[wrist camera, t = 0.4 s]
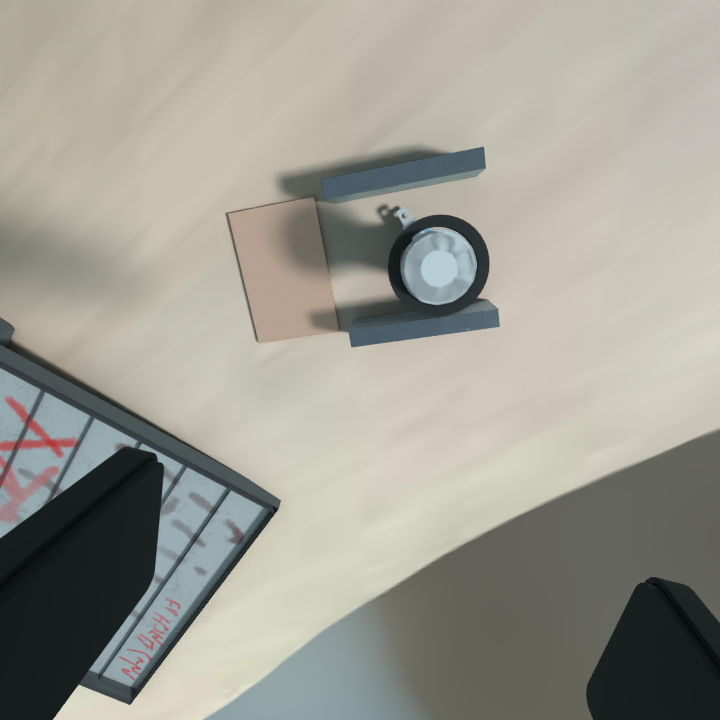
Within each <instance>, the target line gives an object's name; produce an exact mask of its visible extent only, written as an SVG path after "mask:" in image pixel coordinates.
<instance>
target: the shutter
mask: <svg viewBox="0 0 720 720" xmlns="http://www.w3.org/2000/svg"><path fill="white" fill-rule="evenodd" d="M14 330H15V329H14V328H13V326H12V325H11V324H10V323H8V322H6V321H5V320H3V319H2V318H0V538H1V537H2V536H4V535H5V534H7V533H8V532H9V531H11V530H12V529H13V528H15V527H16V526H17V525H19V524H20V523H21V522H23V521H24V520H25V519H27V518H28V517H29V516H31V515H32V514H33V513H35V512H36V511H38V510H39V509H40V508H42V507H43V506H44V505H46V504H47V503H48V502H50V501H51V500H52V499H54V498H55V497H56V496H58V495H59V494H60V493H62V492H63V491H65V490H66V489H67V488H69V487H70V486H71V485H73V484H74V483H75V482H77V481H78V480H79V479H81V478H82V477H83V476H85V475H86V474H87V473H89V472H90V471H92V470H93V469H94V468H96V467H97V466H98V465H100V464H101V463H102V462H104V461H105V460H106V459H108V458H109V457H110V456H112V455H113V454H114V453H116V452H117V451H118V450H120V449H121V448H123V447H127V446H129V447H133V448H137V449H141V450H145V451H149V452H153V453H155V454H156V455H157V458H158V462H161V463H163V465H164V478H163V489H162V500H161V506H162V505H163V506H162V507H161V511H160V522H159V533H158V544H157V555H156V565H155V573H154V577H153V580H152V582H151V585H150V587H149V589H148V590H147V592H146V593H145V595H144V596H143V597H142V599H141V600H140V601H139V603H138V604H137V605H136V607H135V608H134V610H133V611H132V612H131V614H130V615H129V616H128V618H127V619H126V620H125V622H124V623H123V625H122V626H121V627H120V629H119V630H118V631H117V633H116V634H115V635H114V637H113V638H112V640H111V641H110V642H109V644H108V645H107V646H106V648H105V649H104V650H103V652H102V653H101V655H100V656H99V657H98V659H97V660H96V661H95V663H94V664H93V666H92V667H91V668H90V670H89V671H88V672H87V674H86V675H85V676H84V678H83V679H82V681H81V682H80V683H79V685H81V686H84V687H86V688H89V689H91V690H94V691H96V692H99V693H101V694H104V695H106V696H109V697H111V698H114V699H116V700H119V701H121V702H124V703H126V704H129V705H130V704H131V703H132V702H133V701H134V699H135V698H136V697H137V695H138V694H139V693H140V691H141V690H142V689H143V687H144V686H145V685H146V683H147V682H148V681H149V679H150V678H151V677H152V675H153V674H154V673H155V671H156V670H157V669H158V668H159V666H160V665H161V664H162V662H163V661H164V660H165V658H166V657H167V656H168V654H169V653H170V652H171V650H172V649H173V648H174V646H175V645H176V644H177V642H178V641H179V640H180V638H181V637H182V636H183V634H184V633H185V632H186V631H187V629H188V628H189V627H190V625H191V624H192V623H193V621H194V620H195V619H196V617H197V616H198V615H199V613H200V612H201V611H202V609H203V608H204V607H205V605H206V604H207V603H208V601H209V600H210V599H211V598H212V596H213V595H214V594H215V592H216V591H217V590H218V588H219V587H220V586H221V584H222V583H223V582H224V580H225V579H226V578H227V576H228V575H229V574H230V572H231V571H232V570H233V568H234V567H235V566H236V564H237V563H238V562H239V561H240V559H241V558H242V557H243V555H244V554H245V553H246V551H247V550H248V549H249V547H250V546H251V545H252V543H253V542H254V541H255V539H256V538H257V537H258V535H259V534H260V533H261V531H262V530H263V529H264V528H265V526H266V525H267V524H268V522H269V521H270V520H271V518H272V517H273V516H274V514H275V513H276V512H277V510H278V509H279V505H280V502H281V500H279V499H278V498H276V497H275V496H273V495H272V494H270V493H269V492H267V491H266V490H264V489H263V488H261V487H260V486H258V485H256V484H255V483H253V482H252V481H250V480H249V479H247V478H246V477H244V476H242V475H240V474H239V473H237V472H235V471H233V470H231V469H229V468H227V467H226V466H224V465H222V464H220V463H218V462H216V461H214V460H213V459H211V458H209V457H207V456H205V455H203V454H201V453H200V452H198V451H196V450H194V449H192V448H190V447H189V446H187V445H185V444H183V443H181V442H179V441H177V440H176V439H174V438H172V437H170V436H168V435H166V434H164V433H163V432H161V431H159V430H157V429H155V428H153V427H152V426H150V425H148V424H146V423H144V422H142V421H140V420H139V419H137V418H135V417H133V416H131V415H129V414H127V413H126V412H124V411H122V410H120V409H118V408H116V407H114V406H113V405H111V404H109V403H107V402H105V401H103V400H102V399H100V398H98V397H96V396H94V395H92V394H90V393H89V392H87V391H85V390H83V389H81V388H79V387H77V386H76V385H74V384H72V383H70V382H68V381H66V380H64V379H63V378H61V377H59V376H57V375H55V374H53V373H52V372H50V371H48V370H46V369H44V368H42V367H40V366H39V365H37V364H35V363H33V362H31V361H29V360H27V359H26V358H24V357H22V356H20V355H18V354H16V353H14V352H13V351H11V350H9V349H7V346H8V344H9V342H10V339H11V337H12V334H13V332H14ZM186 467H187V468H186ZM185 469H186V470H185ZM184 470H185V471H184ZM183 472H184V473H183ZM182 473H183V474H182ZM181 475H182V476H181ZM180 476H181V477H180ZM179 478H180V479H179ZM177 481H178V482H177ZM176 483H177V484H176ZM175 484H176V485H175ZM174 486H175V487H174ZM173 487H174V488H173ZM172 489H173V490H172ZM170 492H171V493H170ZM169 494H170V495H169ZM168 495H169V496H168ZM167 497H168V498H167ZM166 498H167V499H166ZM165 500H166V501H165ZM163 503H164V504H163ZM275 507H276V508H275ZM268 511H269V513H268V514H267V515H266V513H267V512H268ZM265 515H266V517H265V518H264V519H263V517H264V516H265ZM262 519H263V521H262V522H261V523H260V521H261V520H262ZM259 523H260V525H259V526H258V527H257V525H258V524H259ZM256 527H257V529H256V530H255V531H254V529H255V528H256ZM253 531H254V533H253V534H252V535H251V533H252V532H253ZM250 535H251V537H250V538H249V539H248V537H249V536H250ZM247 539H248V541H247V542H246V543H245V541H246V540H247ZM244 543H245V545H244V546H243V547H242V545H243V544H244ZM241 547H242V549H241V550H240V551H239V549H240V548H241ZM238 551H239V553H238V554H237V555H236V553H237V552H238ZM235 555H236V557H235V558H234V559H233V557H234V556H235ZM232 559H233V561H232V562H231V563H230V561H231V560H232ZM229 563H230V565H229V566H228V567H227V565H228V564H229ZM226 567H227V569H226V570H225V571H224V569H225V568H226ZM223 571H224V573H223V574H222V575H221V573H222V572H223ZM220 575H221V577H220V578H219V579H218V577H219V576H220ZM217 579H218V581H217V582H216V583H215V581H216V580H217ZM214 583H215V585H214V586H213V587H212V585H213V584H214ZM211 587H212V589H211V590H210V591H209V589H210V588H211ZM208 591H209V593H208V594H207V595H206V597H205V598H204V599H203V601H202V602H201V603H200V605H199V606H198V607H197V609H196V610H195V611H194V613H193V614H192V615H191V617H190V618H189V619H188V621H187V622H186V623H185V625H184V626H183V627H182V629H181V630H180V631H179V633H178V634H177V635H176V637H175V638H174V639H173V641H172V642H171V643H170V645H169V646H168V647H167V649H166V650H165V651H164V653H163V654H162V655H161V657H160V658H159V659H158V661H157V662H156V663H155V665H154V666H153V667H152V669H151V670H150V671H149V673H148V674H147V675H146V677H145V678H144V679H143V681H142V682H141V683H140V685H139V686H138V687H137V689H135V688H136V686H137V685H138V684H139V682H140V681H141V680H142V678H143V677H144V676H145V674H146V673H147V672H148V670H149V669H150V668H151V666H152V665H153V664H154V662H155V661H156V660H157V658H158V657H159V656H160V654H161V653H162V652H163V650H164V649H165V648H166V646H167V645H168V644H169V642H170V641H171V640H172V638H173V637H174V636H175V634H176V633H177V632H178V630H179V629H180V628H181V626H182V625H183V624H184V622H185V621H186V620H187V618H188V617H189V616H190V614H191V613H192V612H193V610H194V609H195V608H196V606H197V605H198V604H199V602H200V601H201V600H202V598H203V597H204V596H205V594H206V593H207V592H208Z"/></svg>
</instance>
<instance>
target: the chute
mask: <svg viewBox="0 0 720 720" xmlns="http://www.w3.org/2000/svg"><path fill="white" fill-rule="evenodd" d="M485 168H486V166H485V154H484V147H480V148H475V149H470V150H465V151H460V152H455V153H450V154H445V155H440V156H436V157H431V158H426V159H421V160H416V161H411V162H406V163H401V164H396V165H391V166H386V167H381V168H376V169H371V170H366V171H361V172H356V173H351V174H347V175H342V176H337V177H332V178H327V179H322V180H321V182H322V188H323V193H324V199H325V200H327V201H330V202H332V203H341V202H346V201H351V200H356V199H361V198H366V197H372V196H377V195H382V194H387V193H392V192H398V191H403V190H408V189H413V188H418V187H424V186H429V185H434V184H439V183H444V182H450V181H455V180H460V179H465V178H470V177H476V176H477V175H478V174H480V173H481V172H482V171H483V170H484V169H485ZM494 327H500V325H499V314H498V308H496V307H495V306H494V305H493V304H492V303H491V302H490V301H489V300H483V301H476V302H472V303H471V304H470V305H469V306H467V307H466V308H464V309H463V310H461V311H459V312H457V313H454V314H451V315H447V316H440V317H434V316H427V315H423V314H419V313H417V312H415V311H409V312H402V313H396V314H389V315H382V316H375V317H369V318H362V319H355V321H354V323H353V324H352V326H351V327H350V329H349V330H348V331H349V337H350V342H351V347H358V346H365V345H372V344H379V343H386V342H394V341H401V340H408V339H415V338H422V337H430V336H437V335H444V334H451V333H458V332H466V331H473V330H480V329H487V328H494Z"/></svg>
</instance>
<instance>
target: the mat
mask: <svg viewBox="0 0 720 720" xmlns="http://www.w3.org/2000/svg"><path fill="white" fill-rule="evenodd" d="M228 216H229V220H230V224H231V229H232V233H233V237H234V241H235V245H236V249H237V254H238V258H239V262H240V266H241V270H242V275H243V279H244V283H245V287H246V291H247V296H248V300H249V304H250V308H251V312H252V317H253V321H254V325H255V329H256V333H257V338H258V342H259V343H264V342H271V341H278V340H285V339H292V338H299V337H305V336H312V335H319V334H326V333H333V332H339V331H340V330H339V325H338V320H337V314H336V309H335V304H334V298H333V293H332V288H331V282H330V277H329V271H328V266H327V261H326V255H325V250H324V245H323V239H322V234H321V229H320V223H319V218H318V212H317V207H316V202H315V197H310V198H305V199H300V200H295V201H289V202H284V203H279V204H274V205H269V206H264V207H259V208H254V209H249V210H244V211H239V212H233V213H228Z"/></svg>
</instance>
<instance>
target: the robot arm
mask: <svg viewBox="0 0 720 720" xmlns="http://www.w3.org/2000/svg"><path fill="white" fill-rule="evenodd" d="M163 478H164V465H163V463H161V462H158V458H157V455H156V454H155V453H153V452H149V451H145V450H141V449H137V448H133V447H129V446H127V447H123V448H121V449H120V450H118V451H117V452H116V453H114V454H113V455H112V456H110V457H109V458H108V459H106V460H105V461H104V462H102V463H101V464H100V465H98V466H97V467H96V468H94V469H93V470H92V471H90V472H89V473H87V474H86V475H85V476H83V477H82V478H81V479H79V480H78V481H77V482H75V483H74V484H73V485H71V486H70V487H69V488H67V489H66V490H65V491H63V492H62V493H60V494H59V495H58V496H56V497H55V498H54V499H52V500H51V501H50V502H48V503H47V504H46V505H44V506H43V507H42V508H40V509H39V510H38V511H36V512H35V513H33V514H32V515H31V516H29V517H28V518H27V519H25V520H24V521H23V522H21V523H20V524H19V525H17V526H16V527H15V528H13V529H12V530H11V531H9V532H8V533H7V534H5V535H4V536H2V537H1V538H0V720H53V719H54V717H55V716H56V715H57V713H58V712H59V711H60V709H61V708H62V706H63V705H64V704H65V702H66V701H67V700H68V698H69V697H70V696H71V694H72V693H73V691H74V690H75V689H76V687H77V686H78V685H79V683H80V682H81V681H82V679H83V678H84V676H85V675H86V674H87V672H88V671H89V670H90V668H91V667H92V666H93V664H94V663H95V661H96V660H97V659H98V657H99V656H100V655H101V653H102V652H103V650H104V649H105V648H106V646H107V645H108V644H109V642H110V641H111V640H112V638H113V637H114V635H115V634H116V633H117V631H118V630H119V629H120V627H121V626H122V625H123V623H124V622H125V620H126V619H127V618H128V616H129V615H130V614H131V612H132V611H133V610H134V608H135V607H136V605H137V604H138V603H139V601H140V600H141V599H142V597H143V596H144V595H145V593H146V592H147V590H148V589H149V587H150V585H151V582H152V580H153V577H154V573H155V565H156V555H157V544H158V533H159V522H160V511H161V500H162V489H163ZM586 693H587V694H586V696H587V704H588V707H589V710H590V712H591V715H592V718H593V720H720V623H719V622H718V620H717V619H716V618H715V617H714V616H713V614H712V613H711V612H710V611H709V609H708V608H707V607H706V606H705V605H704V603H703V602H702V601H701V600H700V598H699V597H698V596H697V595H696V594H695V592H694V591H693V590H692V589H691V588H690V587H689V586H686V585H684V584H680V583H676V582H672V581H668V580H664V579H660V578H656V577H651V578H649V579H647V580H646V581H645V583H640V584H638V585H637V586H636V588H635V590H634V592H633V593H632V596H631V598H630V600H629V602H628V604H627V606H626V608H625V610H624V612H623V614H622V616H621V618H620V620H619V622H618V624H617V626H616V628H615V630H614V632H613V634H612V636H611V638H610V640H609V642H608V644H607V646H606V648H605V650H604V652H603V654H602V656H601V658H600V660H599V663H598V664H597V666H596V668H595V670H594V672H593V674H592V677H591V678H590V680H589V682H588V685H587V691H586Z"/></svg>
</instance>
